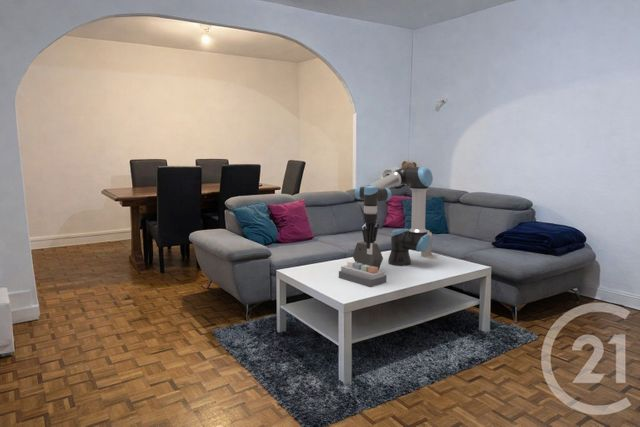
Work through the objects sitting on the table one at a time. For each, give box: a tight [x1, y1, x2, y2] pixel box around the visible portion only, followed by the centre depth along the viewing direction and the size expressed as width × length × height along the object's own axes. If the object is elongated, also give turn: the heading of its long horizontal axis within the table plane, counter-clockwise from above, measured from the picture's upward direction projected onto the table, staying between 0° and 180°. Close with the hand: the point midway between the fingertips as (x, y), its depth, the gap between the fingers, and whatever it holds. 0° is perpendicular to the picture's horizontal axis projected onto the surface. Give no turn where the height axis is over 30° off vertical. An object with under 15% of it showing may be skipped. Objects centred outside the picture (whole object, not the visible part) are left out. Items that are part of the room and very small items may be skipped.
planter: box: [352, 241, 384, 271], centre depth 284 cm, size 17×8×21 cm
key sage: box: [361, 265, 371, 272], centre depth 262 cm, size 4×4×3 cm
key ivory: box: [346, 260, 357, 268], centre depth 270 cm, size 4×4×3 cm
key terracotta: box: [368, 266, 378, 274], centre depth 258 cm, size 4×4×3 cm
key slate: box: [354, 263, 364, 270], centre depth 266 cm, size 4×4×3 cm
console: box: [338, 264, 387, 288], centre depth 264 cm, size 14×25×6 cm, turn 42°
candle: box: [420, 229, 438, 259], centre depth 320 cm, size 7×14×20 cm, turn 42°
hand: (369, 253), depth 258 cm, fingers closed
